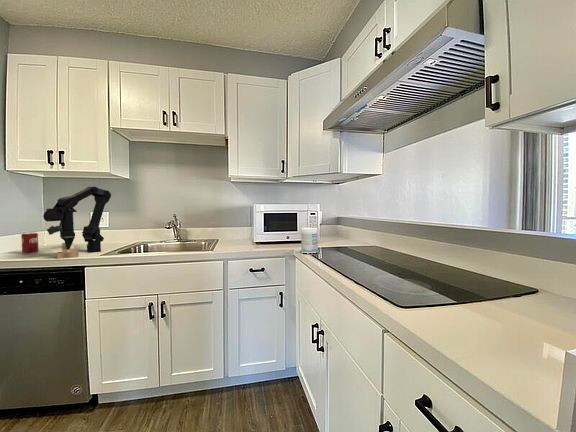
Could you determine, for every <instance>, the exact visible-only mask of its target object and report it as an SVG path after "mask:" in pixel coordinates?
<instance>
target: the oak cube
mask: <svg viewBox="0 0 576 432" xmlns="http://www.w3.org/2000/svg"><path fill="white" fill-rule="evenodd" d="M74 245H75V244H74V241H73V242H72V245H71V247H70V249H69V250H67V248H66V245H65V242H62V243H61V252H62V253H70V252H74V251H75V249H74V248H75V247H74Z"/></svg>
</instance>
